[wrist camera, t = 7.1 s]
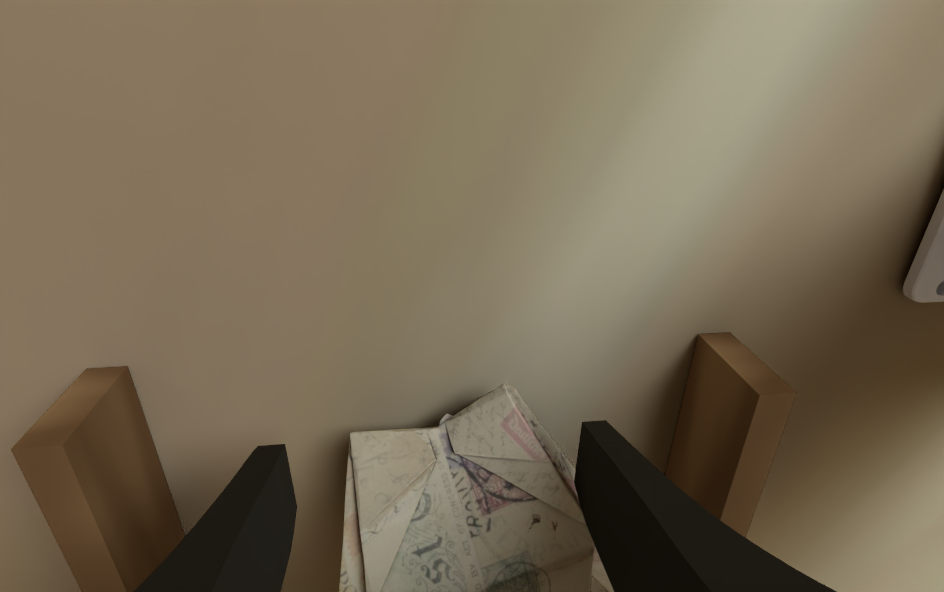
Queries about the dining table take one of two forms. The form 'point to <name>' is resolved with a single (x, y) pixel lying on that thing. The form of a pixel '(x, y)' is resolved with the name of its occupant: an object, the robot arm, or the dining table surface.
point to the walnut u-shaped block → (158, 526)
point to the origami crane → (465, 507)
